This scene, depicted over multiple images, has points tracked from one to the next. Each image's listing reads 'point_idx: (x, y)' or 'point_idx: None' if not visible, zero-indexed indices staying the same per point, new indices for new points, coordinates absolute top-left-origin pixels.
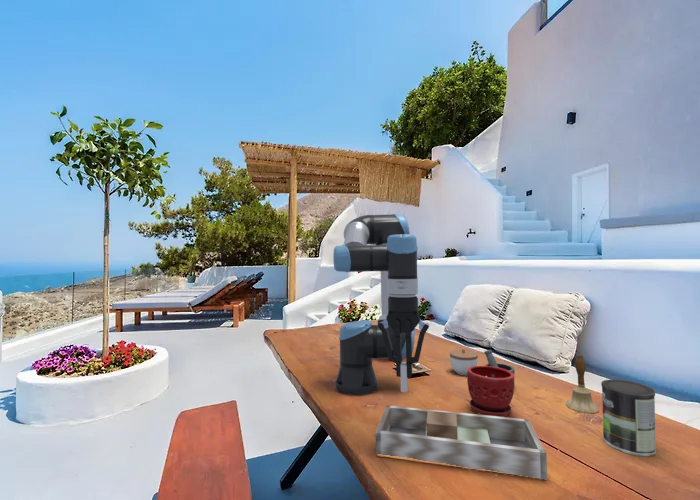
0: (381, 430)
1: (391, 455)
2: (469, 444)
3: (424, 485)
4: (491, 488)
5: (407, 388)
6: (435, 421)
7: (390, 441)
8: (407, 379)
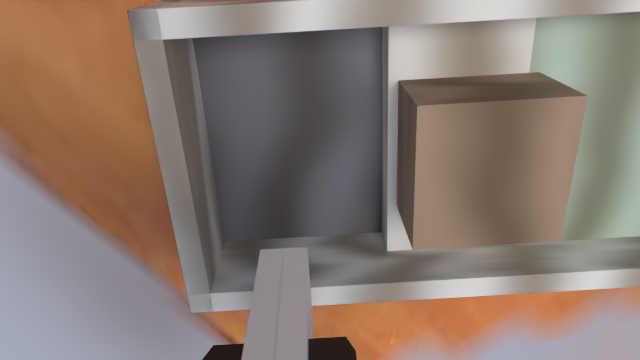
0: (209, 292)
1: None
2: (577, 287)
3: (389, 337)
4: (577, 300)
5: (310, 291)
6: (458, 222)
7: None
8: (309, 325)
